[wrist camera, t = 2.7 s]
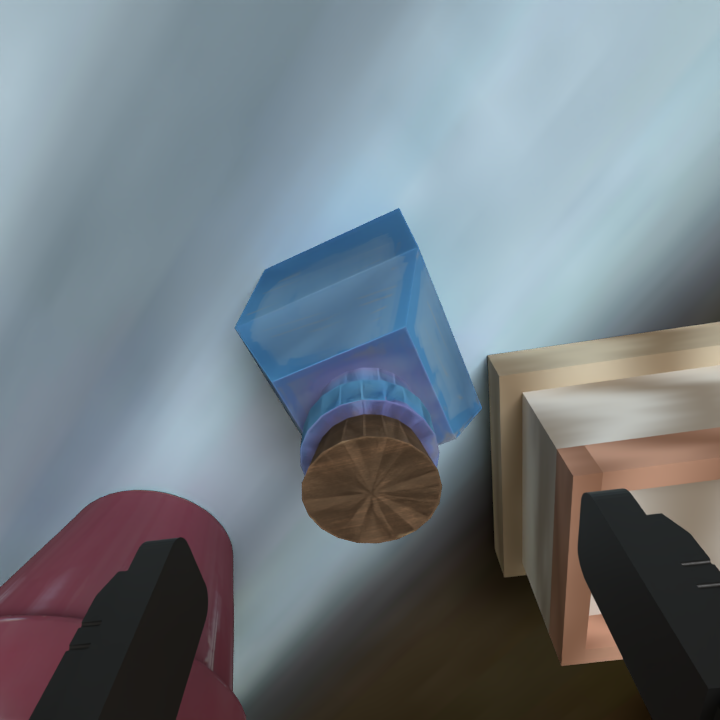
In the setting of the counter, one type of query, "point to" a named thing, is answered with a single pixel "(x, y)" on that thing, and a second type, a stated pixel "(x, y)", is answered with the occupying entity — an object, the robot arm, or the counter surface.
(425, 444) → the perfume bottle
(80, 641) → the robot arm
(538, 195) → the counter surface
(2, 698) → the plant pot
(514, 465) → the pedestal
